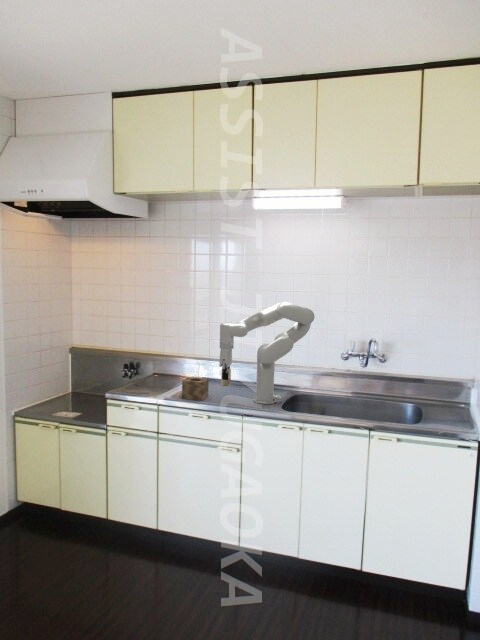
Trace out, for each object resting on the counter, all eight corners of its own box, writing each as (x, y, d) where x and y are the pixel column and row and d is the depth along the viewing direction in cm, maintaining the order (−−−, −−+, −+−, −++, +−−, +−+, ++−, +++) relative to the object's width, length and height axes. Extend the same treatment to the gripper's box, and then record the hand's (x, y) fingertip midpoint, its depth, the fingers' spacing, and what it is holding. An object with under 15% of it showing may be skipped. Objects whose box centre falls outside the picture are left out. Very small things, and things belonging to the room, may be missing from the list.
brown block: (208, 396, 290) (208, 378, 289) (202, 400, 280) (203, 382, 279) (187, 394, 293) (188, 377, 292) (181, 398, 283) (182, 380, 282)
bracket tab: (230, 385, 283) (230, 368, 282) (229, 386, 280) (229, 370, 279) (222, 384, 284) (223, 368, 283) (221, 385, 281) (221, 369, 280)
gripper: (223, 343, 288) (223, 375, 290) (215, 347, 273) (215, 381, 274) (236, 343, 287) (236, 376, 289) (229, 348, 271) (229, 382, 273)
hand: (226, 378), depth 281 cm, fingers closed on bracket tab, 3 cm apart
